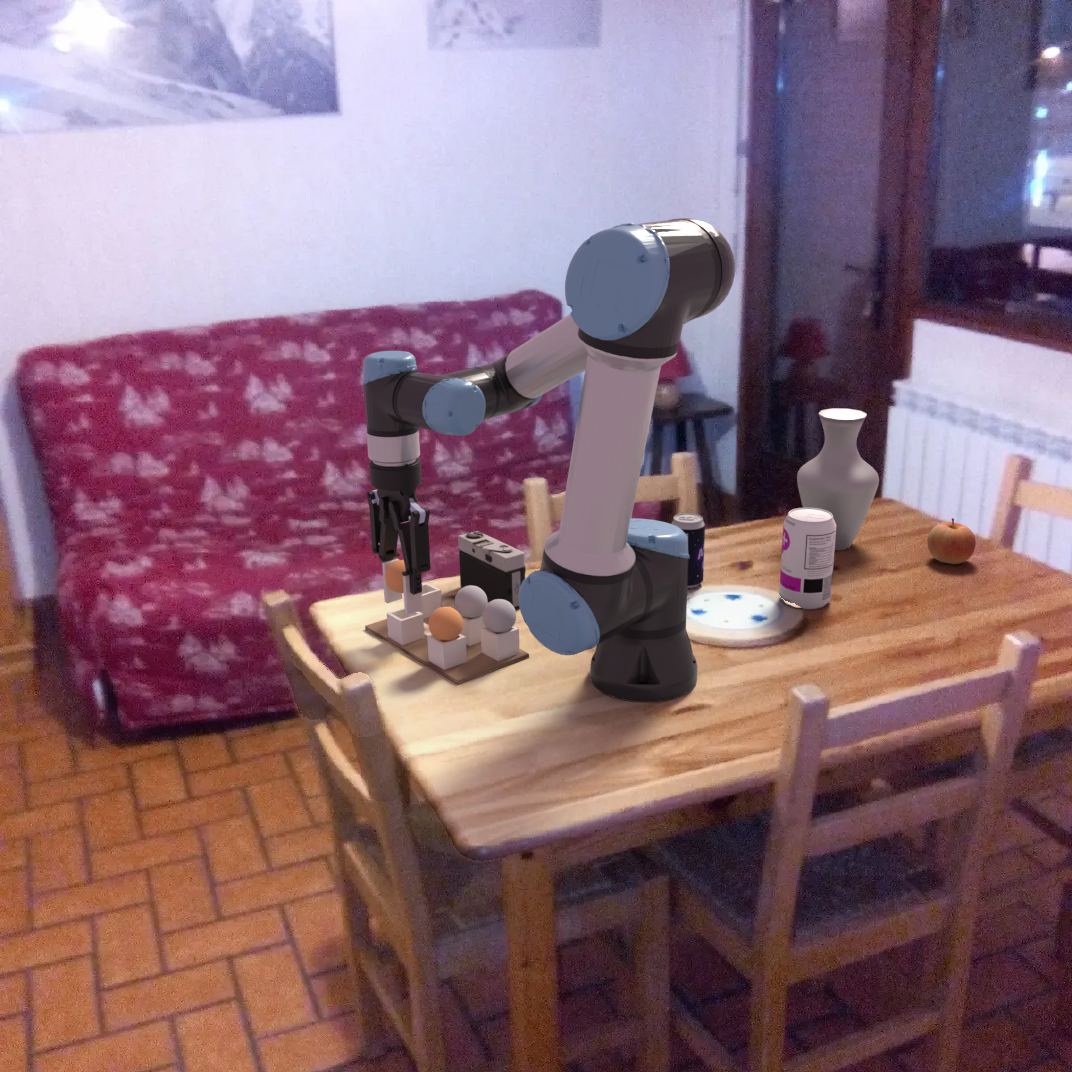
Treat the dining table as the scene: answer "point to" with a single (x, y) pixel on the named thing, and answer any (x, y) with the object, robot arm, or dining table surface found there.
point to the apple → (951, 542)
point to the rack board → (458, 674)
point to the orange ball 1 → (395, 576)
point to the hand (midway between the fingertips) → (403, 605)
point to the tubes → (454, 650)
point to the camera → (491, 566)
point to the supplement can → (807, 557)
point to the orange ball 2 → (445, 623)
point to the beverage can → (693, 545)
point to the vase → (840, 475)
